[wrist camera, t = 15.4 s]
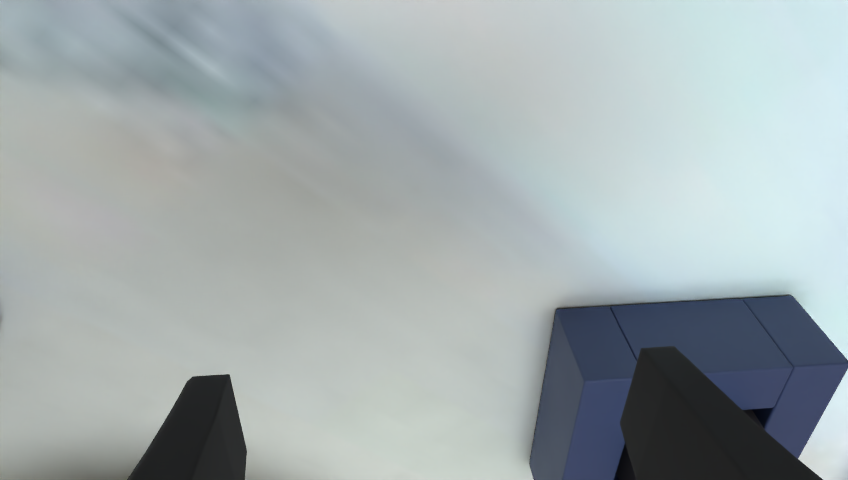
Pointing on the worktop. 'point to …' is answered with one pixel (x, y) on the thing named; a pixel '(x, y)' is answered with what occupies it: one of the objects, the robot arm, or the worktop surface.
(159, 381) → the worktop surface
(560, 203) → the worktop surface
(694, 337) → the dock
